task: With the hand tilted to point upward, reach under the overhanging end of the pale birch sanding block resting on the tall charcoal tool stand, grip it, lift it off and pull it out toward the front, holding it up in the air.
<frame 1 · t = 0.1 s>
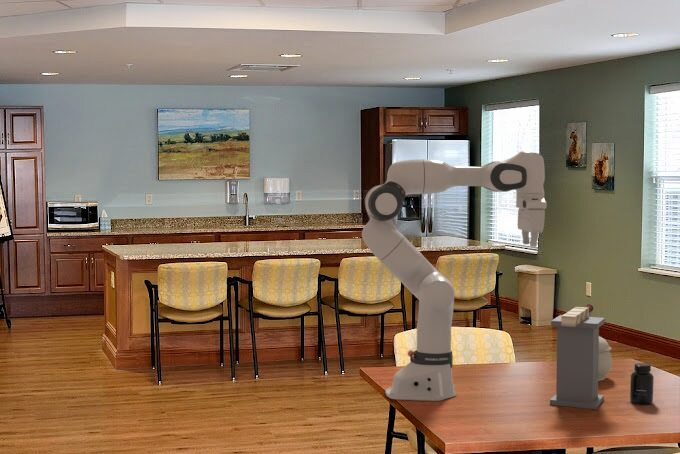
hand: (529, 245, 315), 48 cm above the table, tool pointing down, fingers open, 8 cm apart
supplement bottle: (641, 403, 306), on the table
tool stand: (577, 402, 306), on the table
kettle: (585, 377, 343), on the table
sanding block: (575, 321, 300), point 26 cm above the table, touching tool stand
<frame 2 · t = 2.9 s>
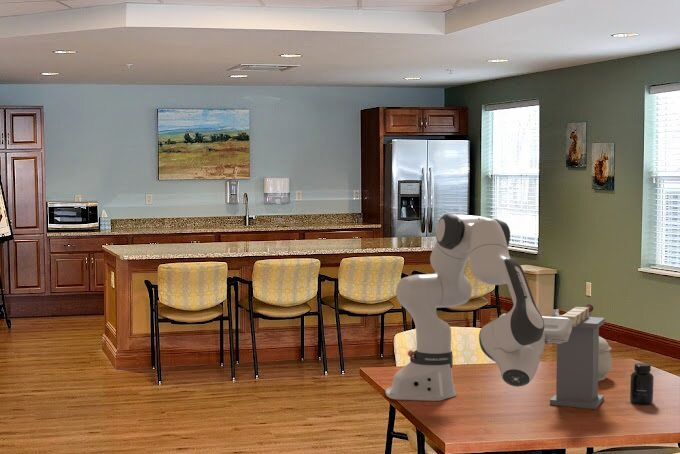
hand: (539, 310, 279), 33 cm above the table, tool pointing upward, fingers open, 8 cm apart
nothing on the table moved.
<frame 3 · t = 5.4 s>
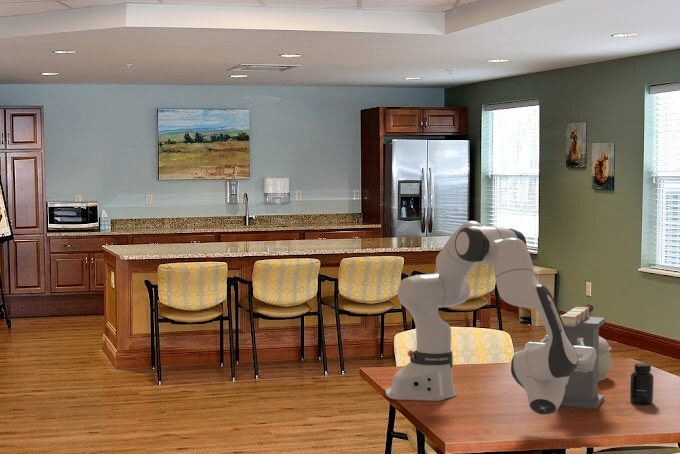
hand: (564, 338, 287), 23 cm above the table, tool pointing upward, fingers open, 8 cm apart
nothing on the table moved.
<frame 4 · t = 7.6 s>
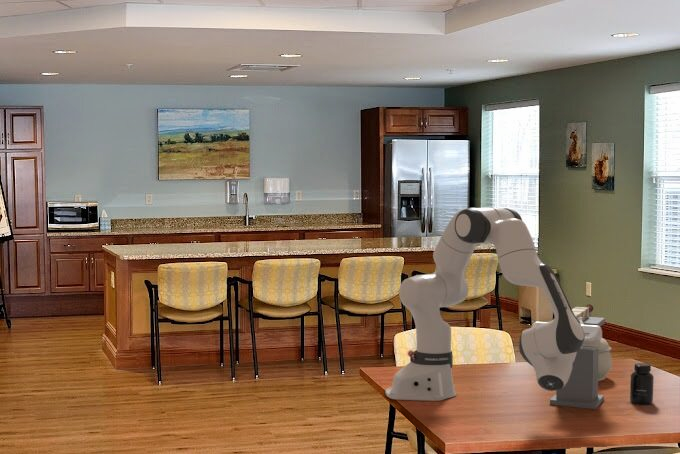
hand: (570, 318, 294), 28 cm above the table, tool pointing upward, fingers closed on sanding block, 4 cm apart
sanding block: (575, 321, 300), point 26 cm above the table, touching gripper, tool stand
everything else where it was.
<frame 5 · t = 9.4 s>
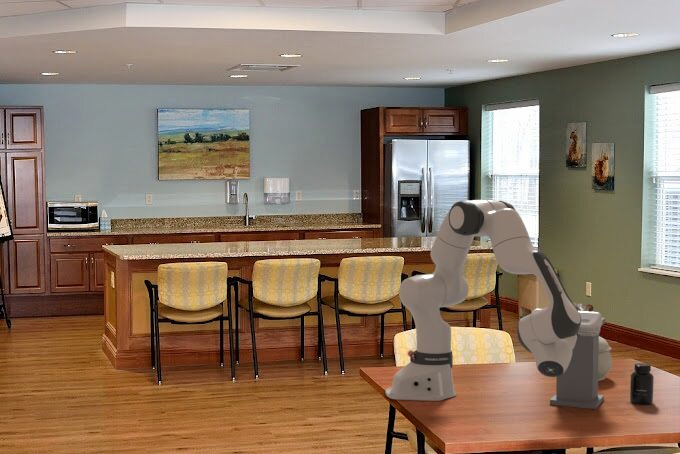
hand: (570, 305, 293), 32 cm above the table, tool pointing upward, fingers closed on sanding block, 4 cm apart
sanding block: (574, 314, 299), point 28 cm above the table, tilted 12°, touching gripper
everything else where it was.
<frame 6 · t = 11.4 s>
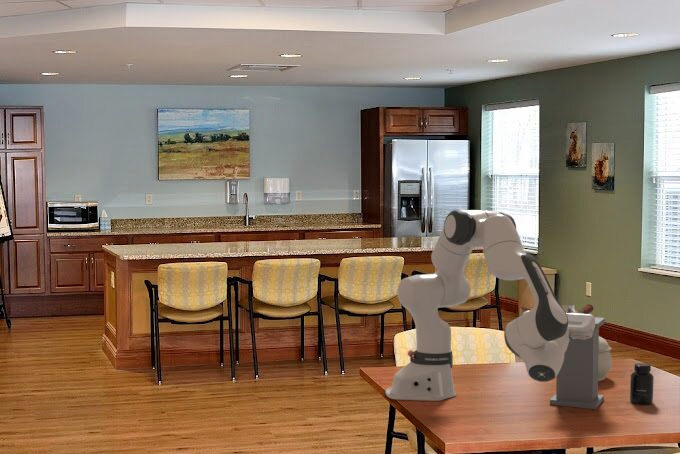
hand: (562, 306, 283), 33 cm above the table, tool pointing upward, fingers closed on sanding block, 4 cm apart
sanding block: (567, 319, 289), point 28 cm above the table, tilted 13°, touching gripper
everything else where it was.
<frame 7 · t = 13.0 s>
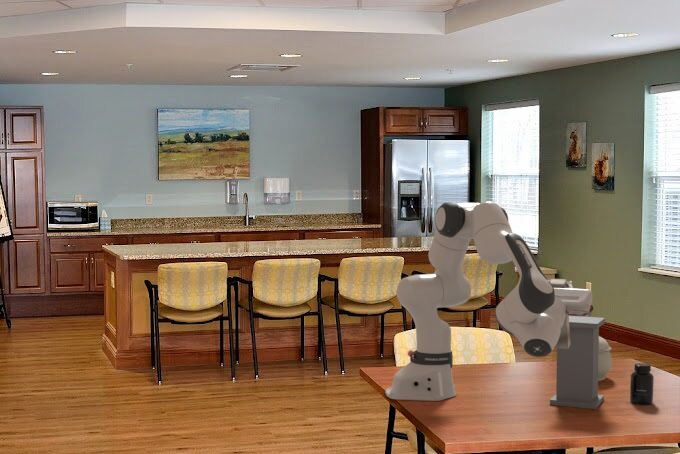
hand: (559, 282, 279), 40 cm above the table, tool pointing upward, fingers closed on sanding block, 4 cm apart
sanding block: (559, 316, 279), point 31 cm above the table, tilted 68°, touching gripper
everything else where it was.
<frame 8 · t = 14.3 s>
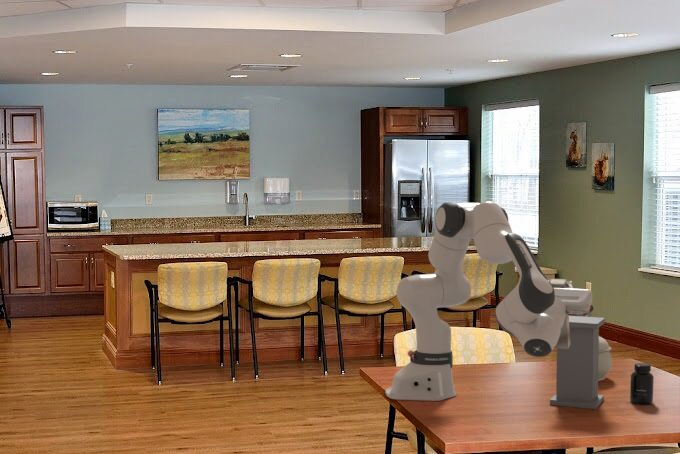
hand: (559, 282, 279), 40 cm above the table, tool pointing upward, fingers closed on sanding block, 4 cm apart
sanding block: (559, 316, 279), point 31 cm above the table, tilted 68°, touching gripper
everything else where it was.
at the end: the gripper is holding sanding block; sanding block point 30.6 cm above the table; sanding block touching gripper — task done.
